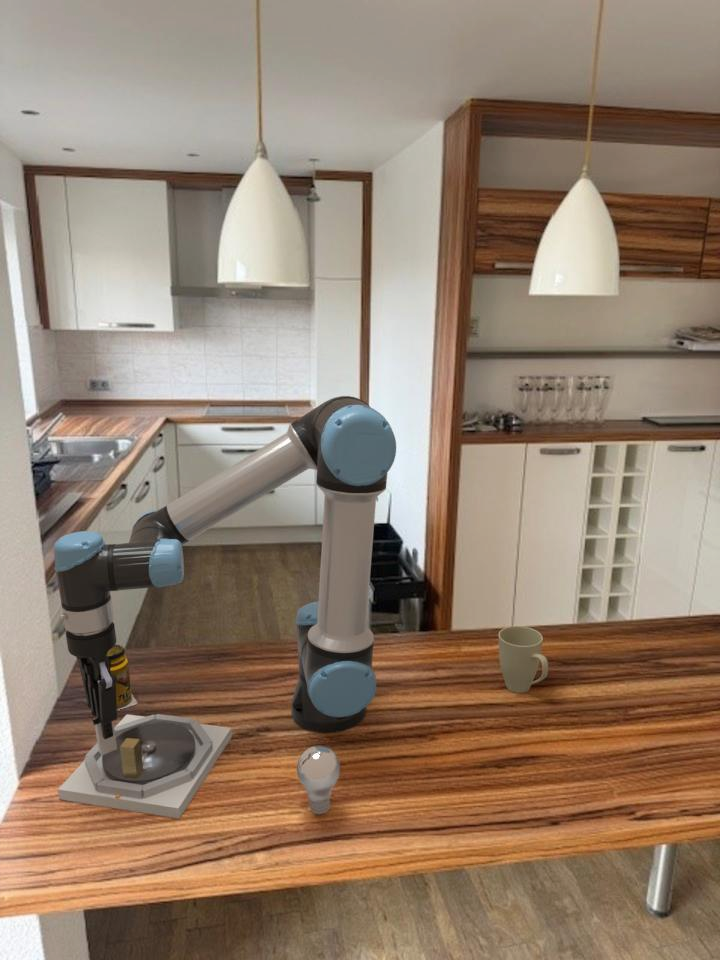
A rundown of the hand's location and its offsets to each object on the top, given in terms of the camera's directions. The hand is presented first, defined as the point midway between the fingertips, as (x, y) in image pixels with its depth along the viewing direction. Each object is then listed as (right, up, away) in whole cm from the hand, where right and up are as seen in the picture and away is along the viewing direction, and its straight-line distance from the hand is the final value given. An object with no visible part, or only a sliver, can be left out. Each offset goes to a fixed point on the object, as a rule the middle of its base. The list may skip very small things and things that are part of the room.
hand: (107, 750), depth 123 cm
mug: (+78, +2, +28) cm, 83 cm away
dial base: (+6, -5, +6) cm, 10 cm away
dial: (+6, -3, +5) cm, 8 cm away
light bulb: (+37, -8, -6) cm, 38 cm away
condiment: (-8, 0, +26) cm, 27 cm away
